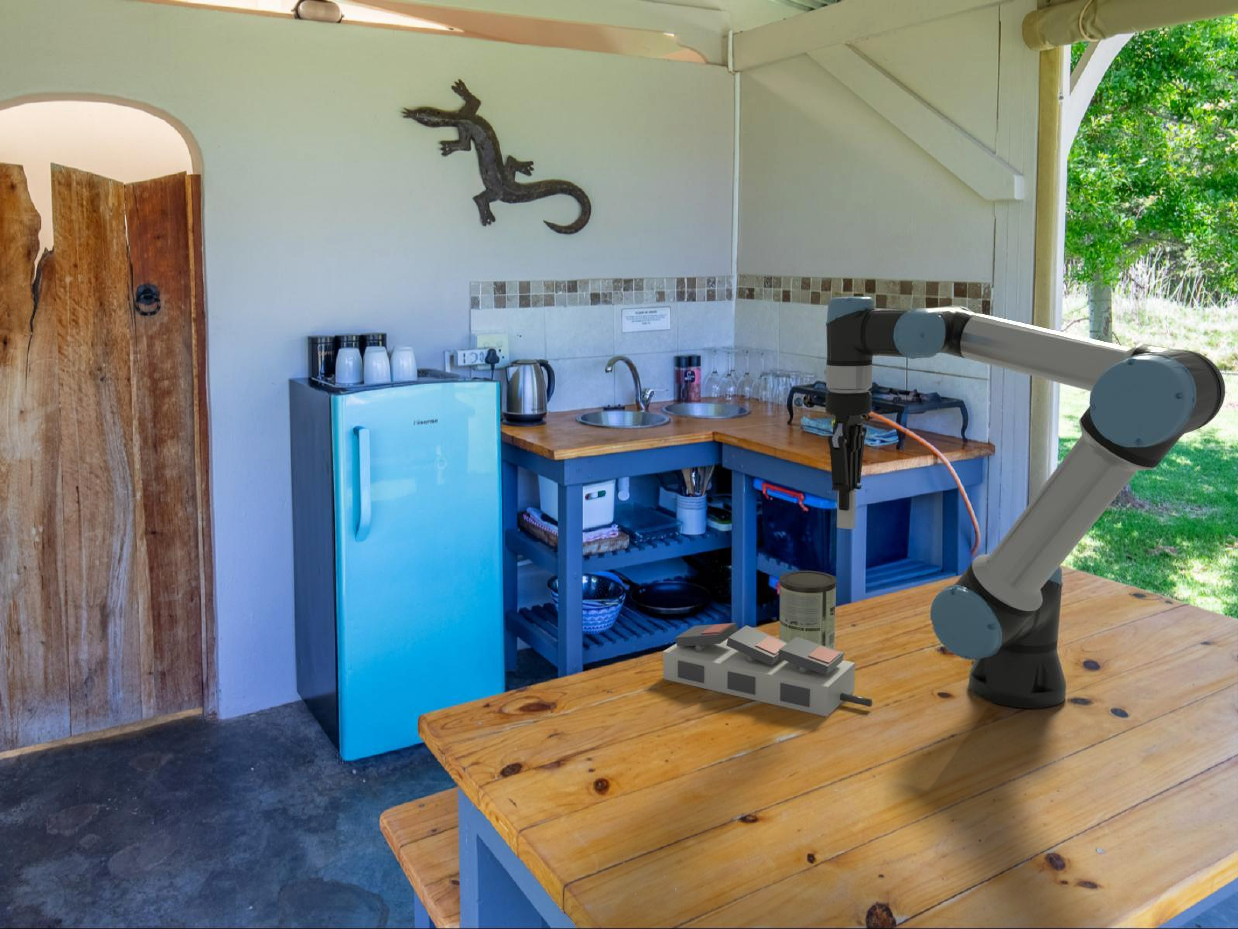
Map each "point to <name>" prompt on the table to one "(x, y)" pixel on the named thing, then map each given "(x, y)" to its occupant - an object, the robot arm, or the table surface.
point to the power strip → (761, 678)
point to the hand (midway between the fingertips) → (845, 527)
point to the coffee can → (808, 607)
